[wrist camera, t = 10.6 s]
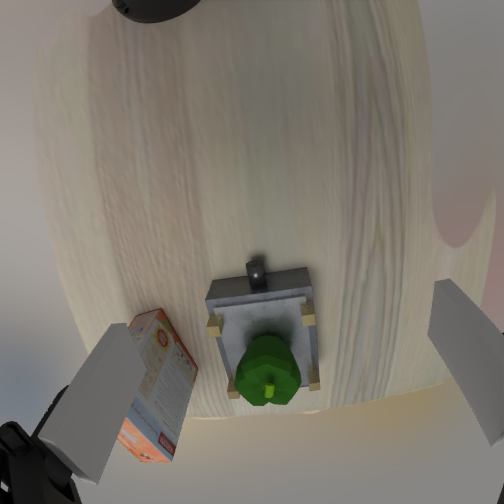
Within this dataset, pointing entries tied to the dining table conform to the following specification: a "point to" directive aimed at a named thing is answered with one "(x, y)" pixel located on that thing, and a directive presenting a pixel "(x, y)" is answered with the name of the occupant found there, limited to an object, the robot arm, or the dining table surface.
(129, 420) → the cracker box
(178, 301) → the dining table surface
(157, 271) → the dining table surface
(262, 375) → the bell pepper
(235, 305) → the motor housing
